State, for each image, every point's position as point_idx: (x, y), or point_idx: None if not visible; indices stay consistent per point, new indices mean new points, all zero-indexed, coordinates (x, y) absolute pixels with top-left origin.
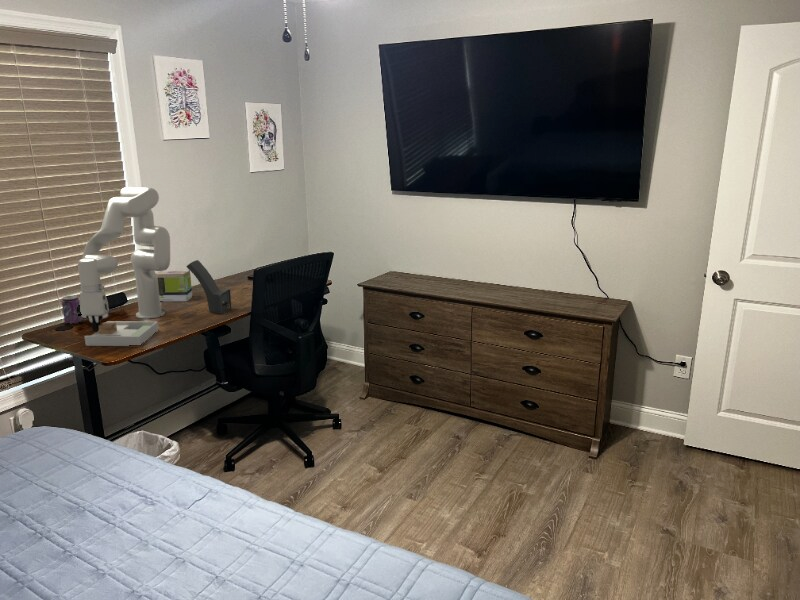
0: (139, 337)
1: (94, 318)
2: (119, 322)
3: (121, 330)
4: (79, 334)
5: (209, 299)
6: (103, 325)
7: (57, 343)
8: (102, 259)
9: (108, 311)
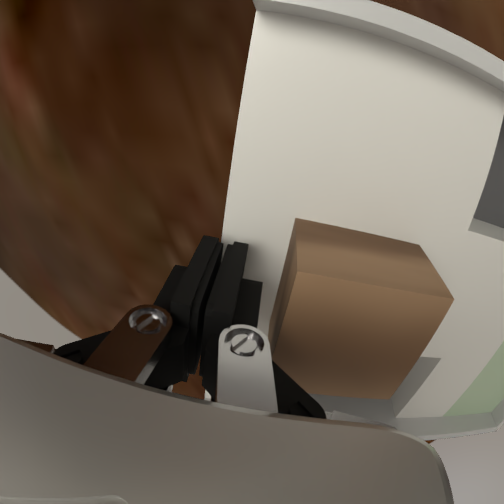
0: (496, 425)
1: (157, 353)
2: (441, 51)
3: (455, 261)
4: (55, 132)
5: None
6: (315, 381)
7: (39, 298)
8: None
9: (430, 455)
